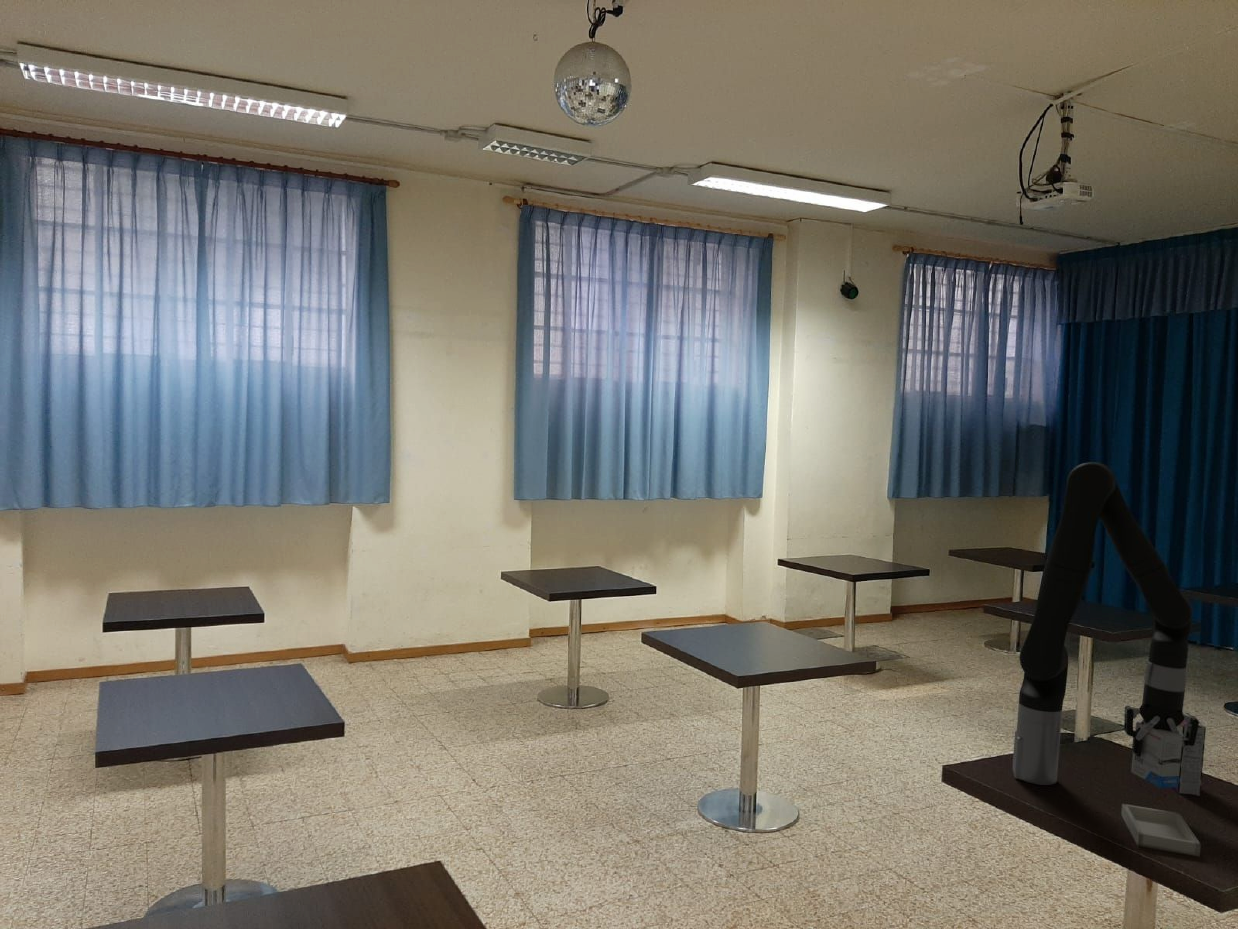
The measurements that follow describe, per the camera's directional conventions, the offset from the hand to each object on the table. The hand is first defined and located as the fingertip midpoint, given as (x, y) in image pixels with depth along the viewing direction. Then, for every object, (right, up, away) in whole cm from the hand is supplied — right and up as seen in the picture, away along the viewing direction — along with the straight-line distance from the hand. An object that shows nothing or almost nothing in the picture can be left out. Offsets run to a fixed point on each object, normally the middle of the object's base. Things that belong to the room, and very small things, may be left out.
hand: (1156, 758), depth 192 cm
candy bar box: (+14, -11, +14) cm, 22 cm away
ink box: (0, -5, 0) cm, 5 cm away
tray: (-7, -11, -13) cm, 18 cm away
